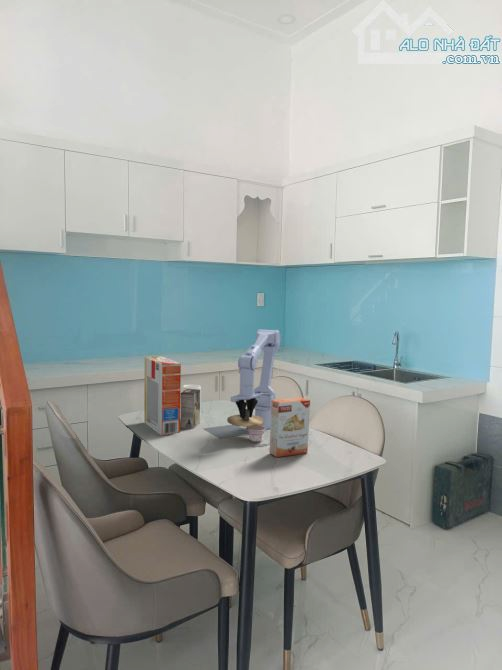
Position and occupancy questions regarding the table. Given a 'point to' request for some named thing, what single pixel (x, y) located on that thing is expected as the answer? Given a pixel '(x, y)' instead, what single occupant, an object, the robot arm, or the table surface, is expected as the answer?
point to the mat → (227, 431)
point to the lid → (245, 420)
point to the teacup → (256, 434)
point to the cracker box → (289, 426)
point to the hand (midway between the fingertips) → (246, 417)
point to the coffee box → (190, 408)
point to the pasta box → (162, 395)
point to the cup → (196, 387)
